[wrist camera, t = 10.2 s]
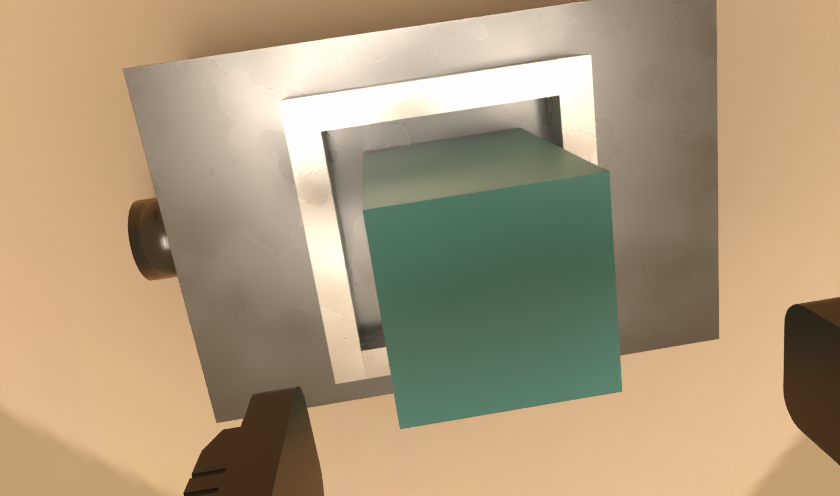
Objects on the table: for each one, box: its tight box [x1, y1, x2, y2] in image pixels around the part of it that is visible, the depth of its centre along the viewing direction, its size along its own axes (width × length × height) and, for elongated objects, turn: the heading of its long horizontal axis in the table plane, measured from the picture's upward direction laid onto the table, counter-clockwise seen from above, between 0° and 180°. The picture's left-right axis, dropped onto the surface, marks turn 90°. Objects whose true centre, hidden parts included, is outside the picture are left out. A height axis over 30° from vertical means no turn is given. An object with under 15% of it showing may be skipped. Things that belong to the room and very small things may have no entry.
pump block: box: [362, 128, 622, 429], centre depth 18 cm, size 5×5×8 cm
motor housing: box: [123, 0, 719, 423], centre depth 24 cm, size 20×12×8 cm, turn 98°
